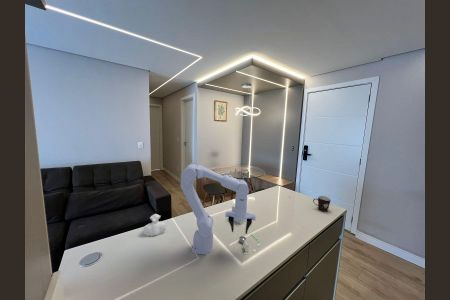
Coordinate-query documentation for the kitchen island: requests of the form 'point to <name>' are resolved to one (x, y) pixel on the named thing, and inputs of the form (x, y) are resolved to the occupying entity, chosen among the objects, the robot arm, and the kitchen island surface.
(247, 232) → the dial
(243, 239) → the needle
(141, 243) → the kitchen island surface
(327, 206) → the coffee mug
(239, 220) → the small box
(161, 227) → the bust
